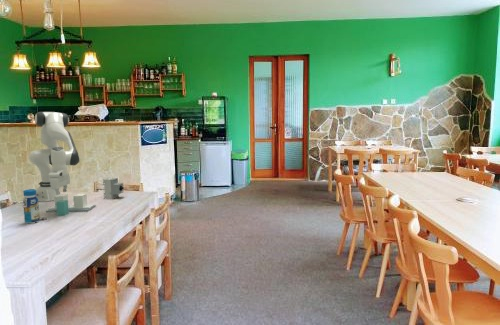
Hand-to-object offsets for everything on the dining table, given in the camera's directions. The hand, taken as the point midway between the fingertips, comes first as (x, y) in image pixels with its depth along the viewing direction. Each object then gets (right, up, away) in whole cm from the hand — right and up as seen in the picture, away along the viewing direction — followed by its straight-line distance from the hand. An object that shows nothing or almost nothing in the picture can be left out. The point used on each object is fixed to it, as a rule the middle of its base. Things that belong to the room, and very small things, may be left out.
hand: (61, 193), depth 259 cm
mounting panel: (0, -12, +15) cm, 19 cm away
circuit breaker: (+18, -8, +49) cm, 53 cm away
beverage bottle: (-11, -17, -15) cm, 25 cm away
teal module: (0, -14, +2) cm, 14 cm away
